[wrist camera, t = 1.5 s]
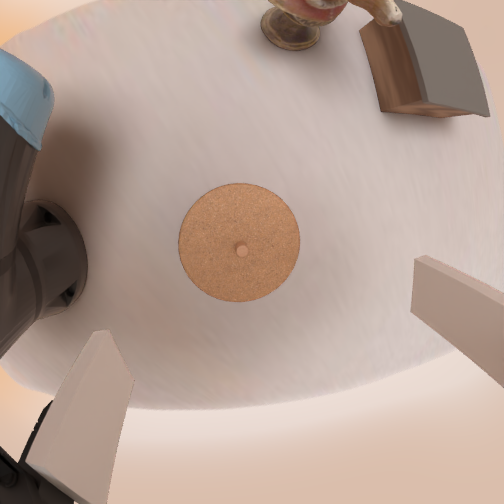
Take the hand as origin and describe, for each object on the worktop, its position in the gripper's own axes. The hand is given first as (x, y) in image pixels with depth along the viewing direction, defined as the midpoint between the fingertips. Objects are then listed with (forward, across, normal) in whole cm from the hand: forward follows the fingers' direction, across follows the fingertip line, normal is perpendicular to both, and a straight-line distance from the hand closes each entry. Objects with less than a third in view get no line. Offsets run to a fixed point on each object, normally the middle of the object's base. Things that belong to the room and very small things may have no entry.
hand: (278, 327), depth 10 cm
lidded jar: (+22, 0, 0) cm, 22 cm away
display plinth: (+21, +28, +18) cm, 40 cm away
